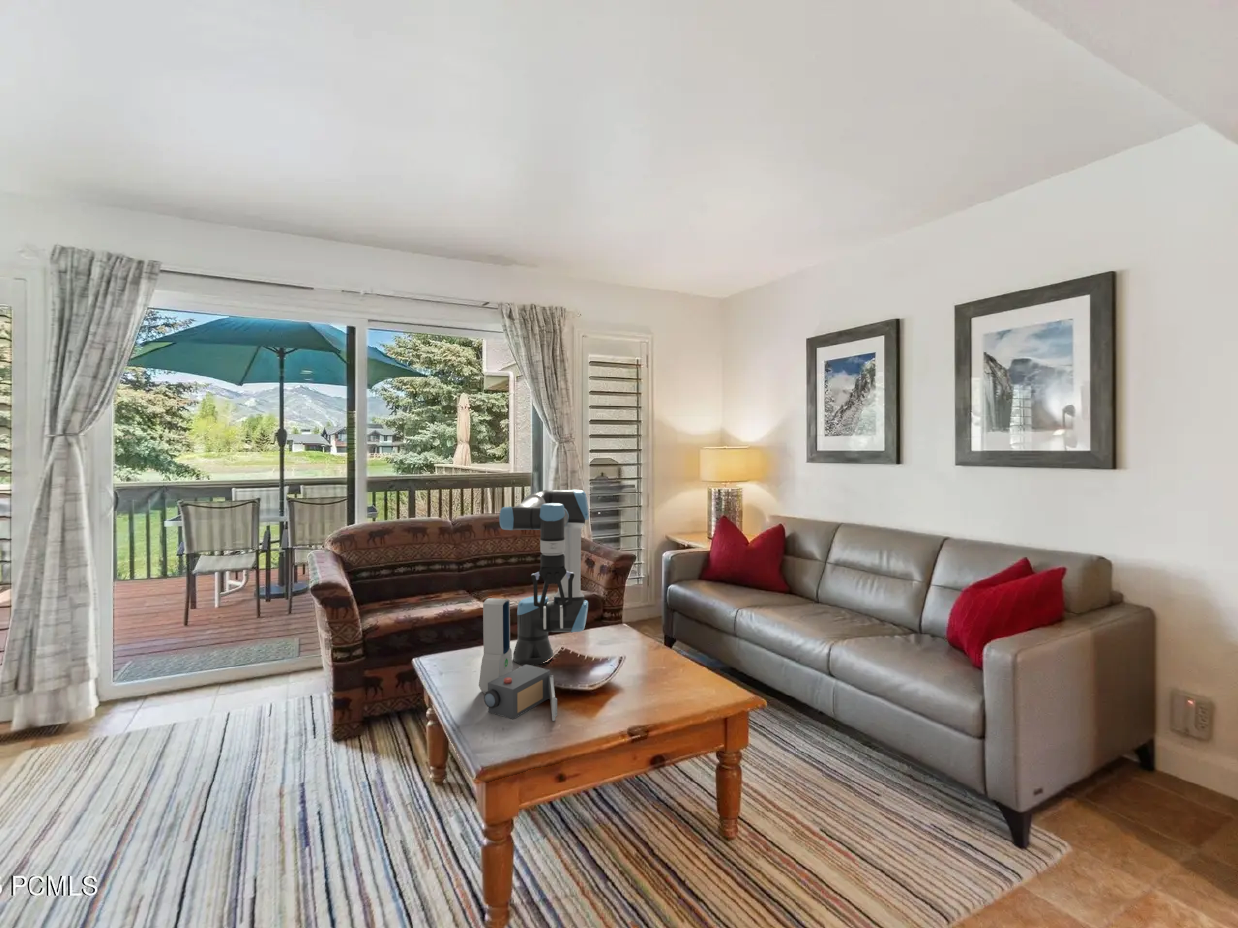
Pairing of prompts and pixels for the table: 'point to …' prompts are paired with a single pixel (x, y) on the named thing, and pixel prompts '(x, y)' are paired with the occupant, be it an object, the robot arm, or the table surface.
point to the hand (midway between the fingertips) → (553, 627)
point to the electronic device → (495, 641)
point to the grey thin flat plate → (552, 697)
